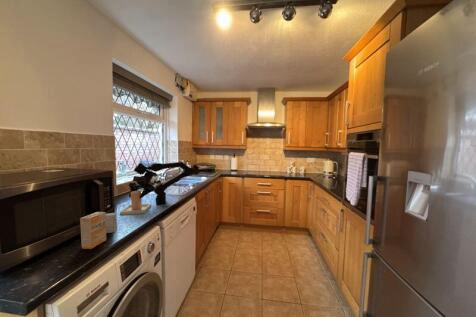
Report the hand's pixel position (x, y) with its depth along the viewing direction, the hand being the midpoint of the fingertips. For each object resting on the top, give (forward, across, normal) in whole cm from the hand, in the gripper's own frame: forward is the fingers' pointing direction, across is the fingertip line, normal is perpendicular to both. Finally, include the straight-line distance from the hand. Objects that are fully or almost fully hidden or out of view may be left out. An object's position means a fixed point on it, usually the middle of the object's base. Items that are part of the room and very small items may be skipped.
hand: (134, 197), depth 130 cm
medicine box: (+27, +14, -14) cm, 33 cm away
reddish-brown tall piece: (+5, 0, +7) cm, 8 cm away
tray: (+6, 0, +7) cm, 9 cm away
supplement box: (+35, +21, -22) cm, 46 cm away
